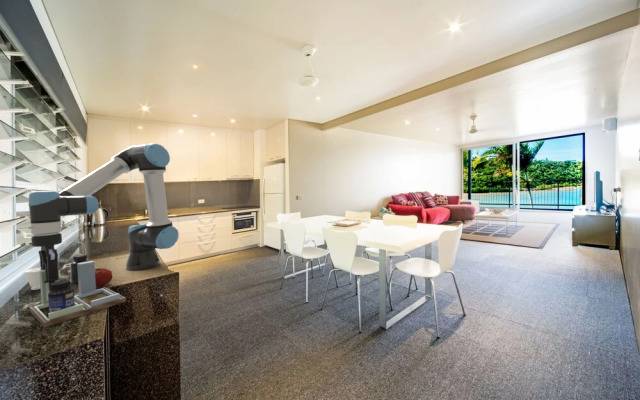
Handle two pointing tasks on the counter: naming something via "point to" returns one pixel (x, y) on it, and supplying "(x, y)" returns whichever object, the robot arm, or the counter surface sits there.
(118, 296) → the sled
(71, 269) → the supplement bottle
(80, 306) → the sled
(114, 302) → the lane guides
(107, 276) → the tomato
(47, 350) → the counter surface
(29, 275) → the cup
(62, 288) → the pill bottle
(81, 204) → the robot arm
